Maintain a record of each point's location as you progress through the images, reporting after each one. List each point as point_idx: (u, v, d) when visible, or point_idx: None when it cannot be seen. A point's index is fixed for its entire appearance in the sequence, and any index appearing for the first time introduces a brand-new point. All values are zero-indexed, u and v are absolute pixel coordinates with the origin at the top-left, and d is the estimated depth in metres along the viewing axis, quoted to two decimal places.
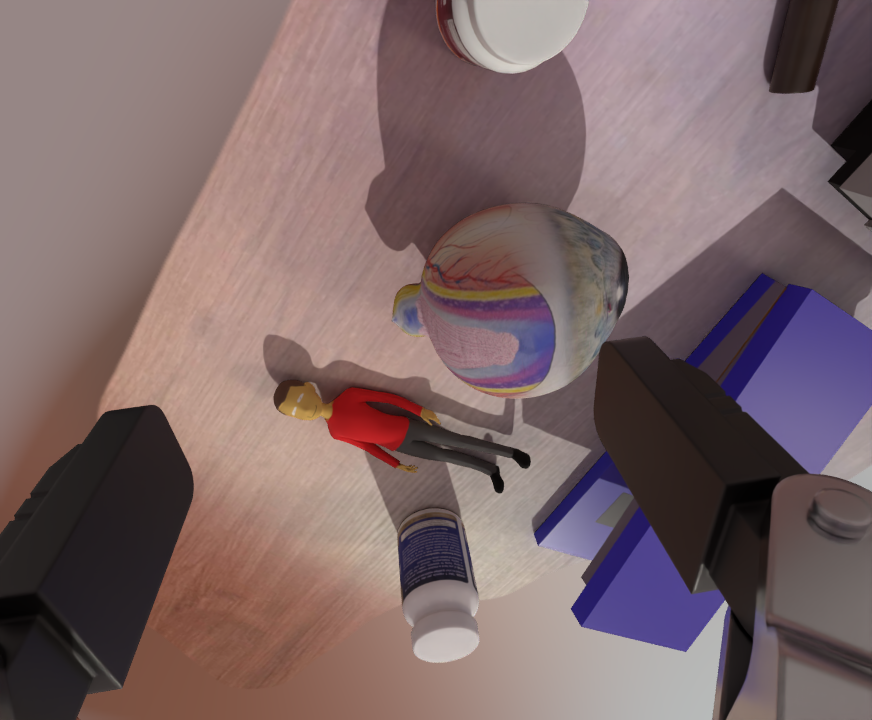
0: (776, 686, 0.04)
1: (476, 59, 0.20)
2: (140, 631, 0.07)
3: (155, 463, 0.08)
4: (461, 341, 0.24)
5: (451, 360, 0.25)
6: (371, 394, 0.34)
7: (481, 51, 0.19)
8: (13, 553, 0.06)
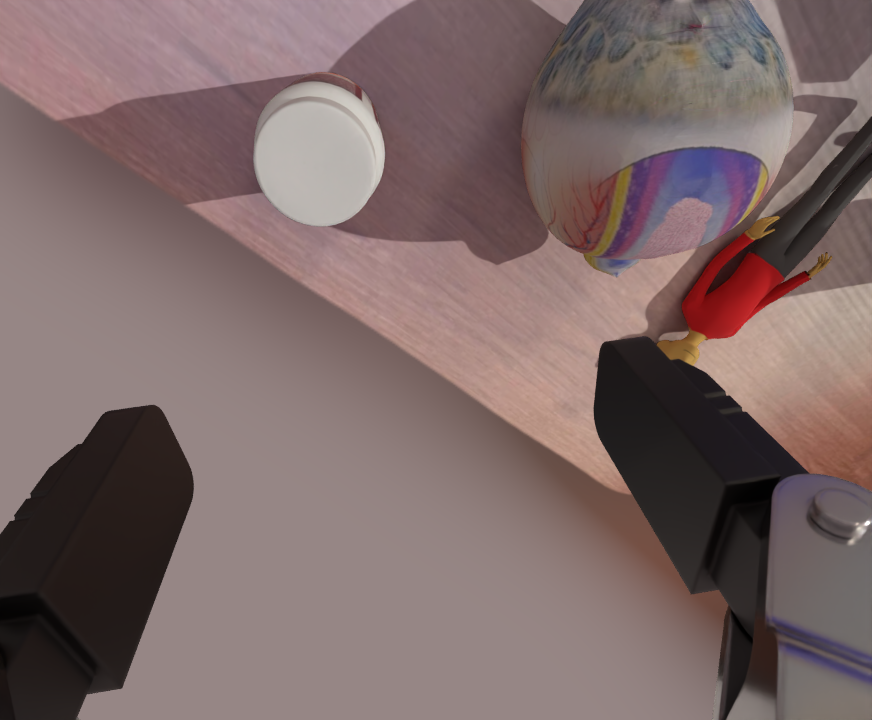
0: (776, 686, 0.04)
1: (370, 195, 0.20)
2: (140, 631, 0.07)
3: (155, 462, 0.08)
4: (660, 250, 0.20)
5: None
6: (699, 286, 0.30)
7: None
8: (13, 553, 0.06)
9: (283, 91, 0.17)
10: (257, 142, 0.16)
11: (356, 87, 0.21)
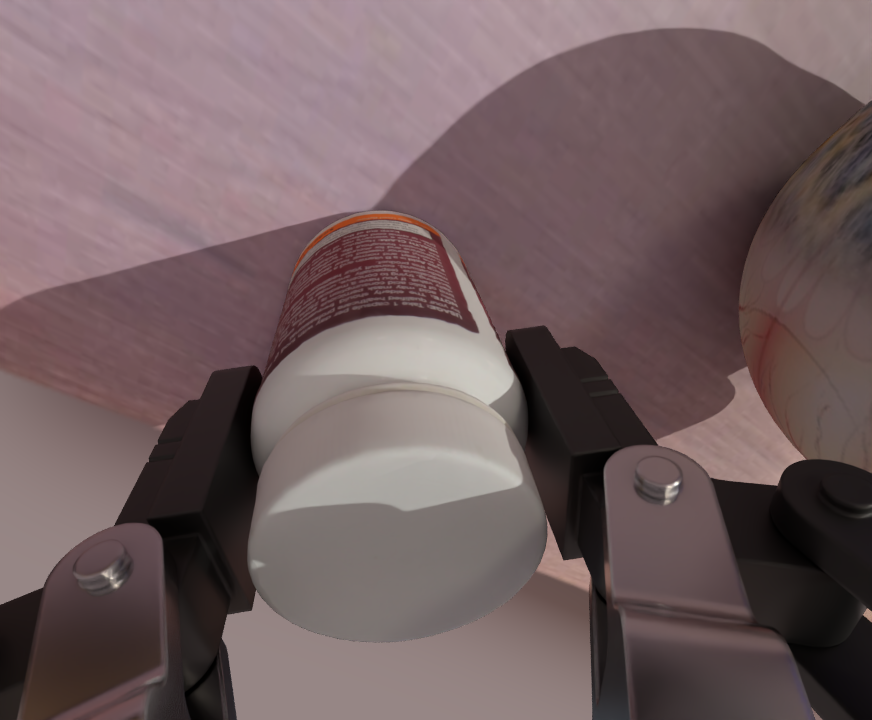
0: (626, 662, 0.04)
1: None
2: None
3: None
4: None
5: None
6: None
7: None
8: (169, 482, 0.07)
9: (306, 352, 0.07)
10: (254, 546, 0.06)
11: (437, 247, 0.11)
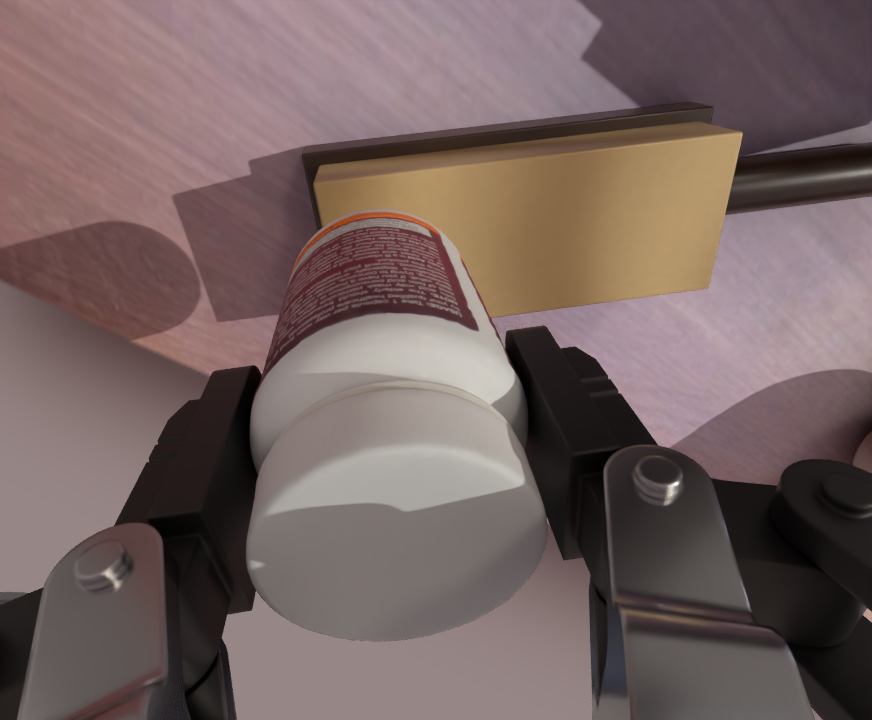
0: (626, 662, 0.04)
1: None
2: None
3: None
4: None
5: None
6: None
7: None
8: (169, 482, 0.07)
9: (305, 349, 0.07)
10: (253, 544, 0.06)
11: (437, 245, 0.11)
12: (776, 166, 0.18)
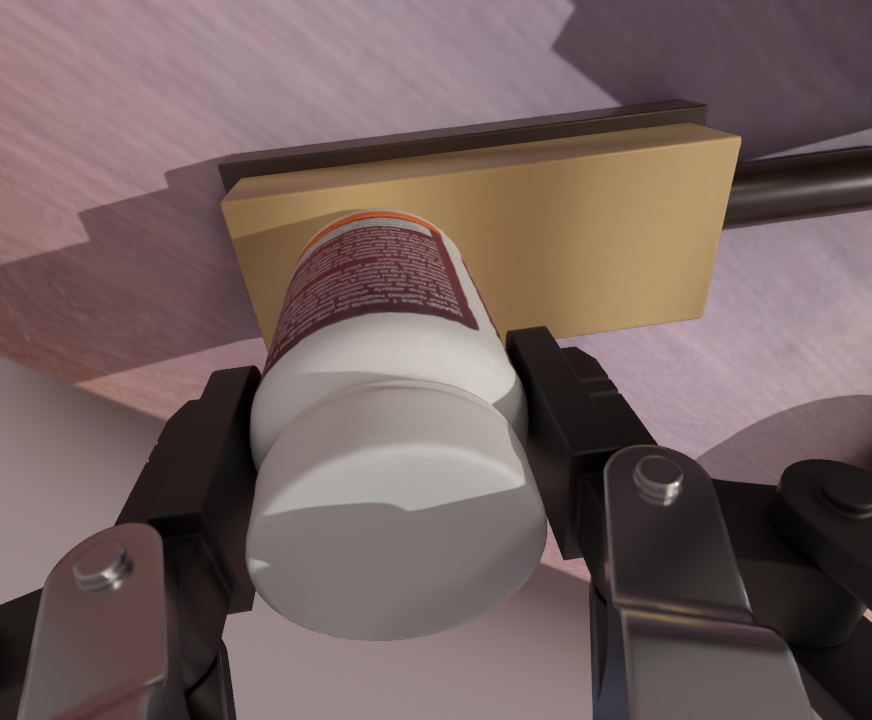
0: (626, 663, 0.04)
1: None
2: None
3: None
4: None
5: None
6: None
7: None
8: (169, 482, 0.07)
9: (305, 349, 0.07)
10: (252, 543, 0.06)
11: (437, 244, 0.11)
12: (782, 174, 0.16)
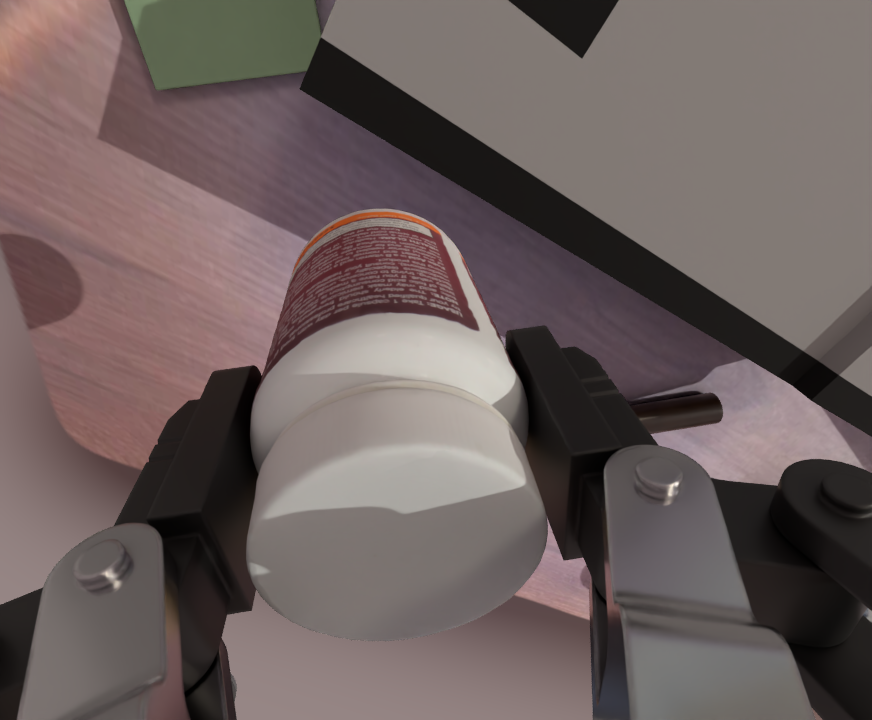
0: (626, 663, 0.04)
1: None
2: None
3: None
4: None
5: None
6: None
7: None
8: (169, 482, 0.07)
9: (305, 349, 0.07)
10: (253, 543, 0.06)
11: (437, 245, 0.11)
12: (641, 417, 0.32)
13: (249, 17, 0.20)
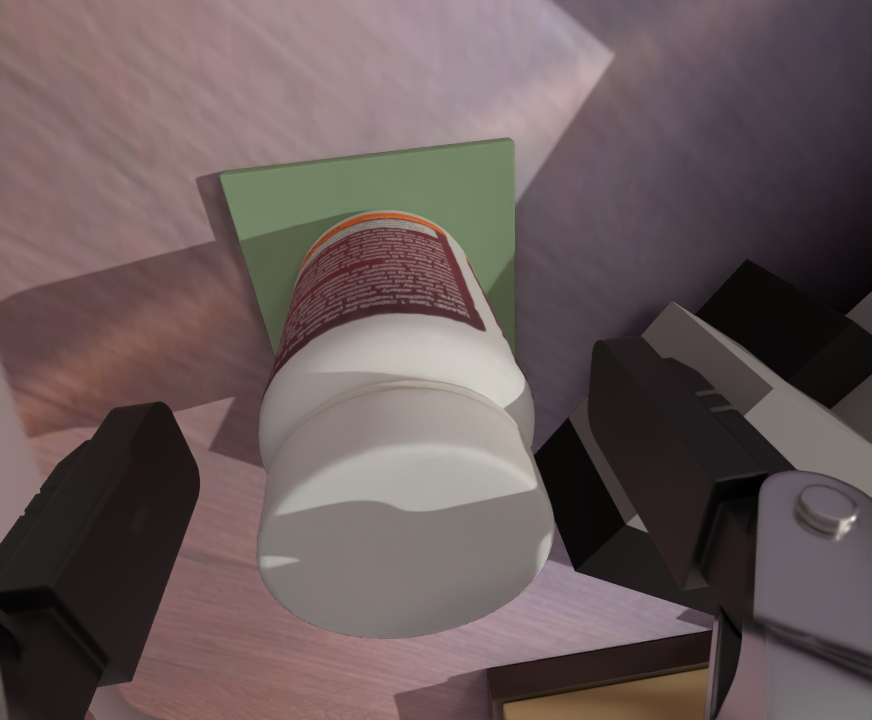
0: (765, 682, 0.04)
1: None
2: (149, 625, 0.07)
3: (163, 458, 0.08)
4: None
5: None
6: None
7: None
8: (25, 546, 0.06)
9: (314, 349, 0.07)
10: (264, 541, 0.06)
11: (443, 246, 0.11)
12: None
13: None
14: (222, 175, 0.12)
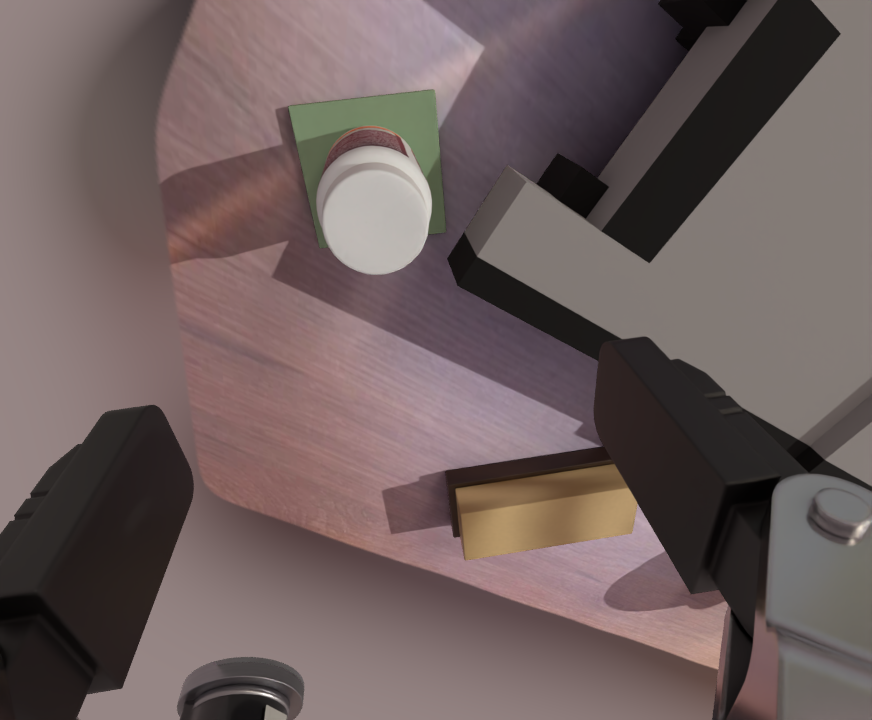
0: (776, 686, 0.04)
1: None
2: (140, 631, 0.07)
3: (155, 462, 0.08)
4: None
5: None
6: None
7: None
8: (13, 553, 0.06)
9: (340, 158, 0.20)
10: (325, 209, 0.18)
11: (397, 138, 0.23)
12: None
13: None
14: (290, 106, 0.24)
